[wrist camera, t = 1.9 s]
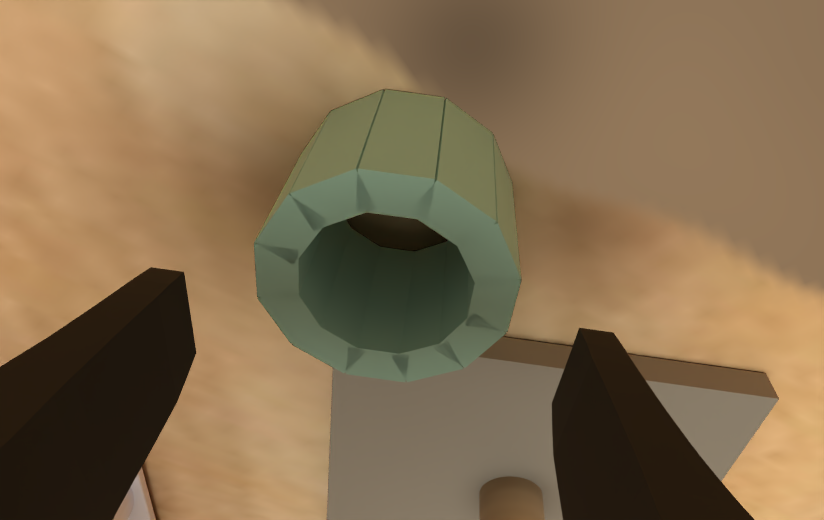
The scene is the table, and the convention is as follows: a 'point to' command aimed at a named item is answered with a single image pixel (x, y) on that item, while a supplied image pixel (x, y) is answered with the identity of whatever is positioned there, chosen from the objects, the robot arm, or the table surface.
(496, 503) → the beech post
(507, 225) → the green ring
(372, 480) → the grey board
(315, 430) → the table surface
